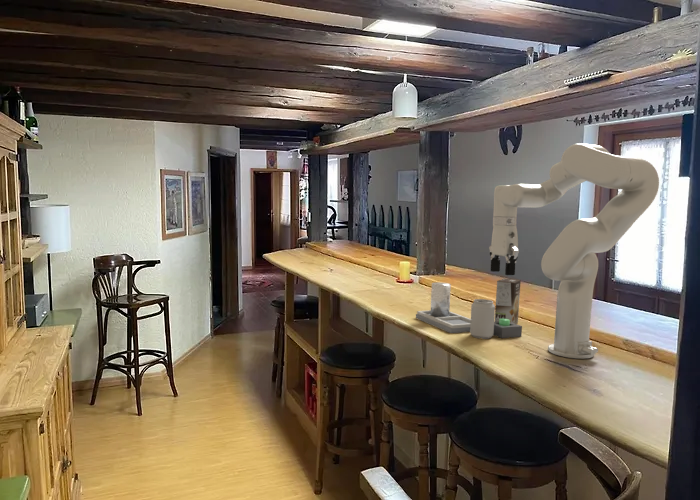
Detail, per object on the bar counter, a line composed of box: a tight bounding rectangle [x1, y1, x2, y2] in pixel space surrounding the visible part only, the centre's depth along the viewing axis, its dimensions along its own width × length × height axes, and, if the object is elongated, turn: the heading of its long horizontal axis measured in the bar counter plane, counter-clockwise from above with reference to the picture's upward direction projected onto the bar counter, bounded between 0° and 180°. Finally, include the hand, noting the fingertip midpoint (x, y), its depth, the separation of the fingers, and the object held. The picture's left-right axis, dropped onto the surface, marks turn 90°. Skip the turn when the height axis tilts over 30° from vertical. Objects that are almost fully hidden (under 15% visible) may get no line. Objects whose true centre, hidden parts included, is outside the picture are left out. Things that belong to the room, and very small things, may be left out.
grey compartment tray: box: [415, 309, 471, 334], centre depth 191 cm, size 23×13×3 cm, turn 23°
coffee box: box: [494, 278, 522, 325], centre depth 193 cm, size 9×6×16 cm
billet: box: [430, 281, 452, 317], centre depth 195 cm, size 7×7×12 cm
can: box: [469, 298, 496, 340], centre depth 174 cm, size 8×8×12 cm
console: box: [493, 320, 523, 339], centre depth 178 cm, size 8×8×4 cm
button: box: [499, 319, 510, 326], centre depth 178 cm, size 3×3×3 cm
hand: (502, 273), depth 180 cm, fingers open, 9 cm apart
